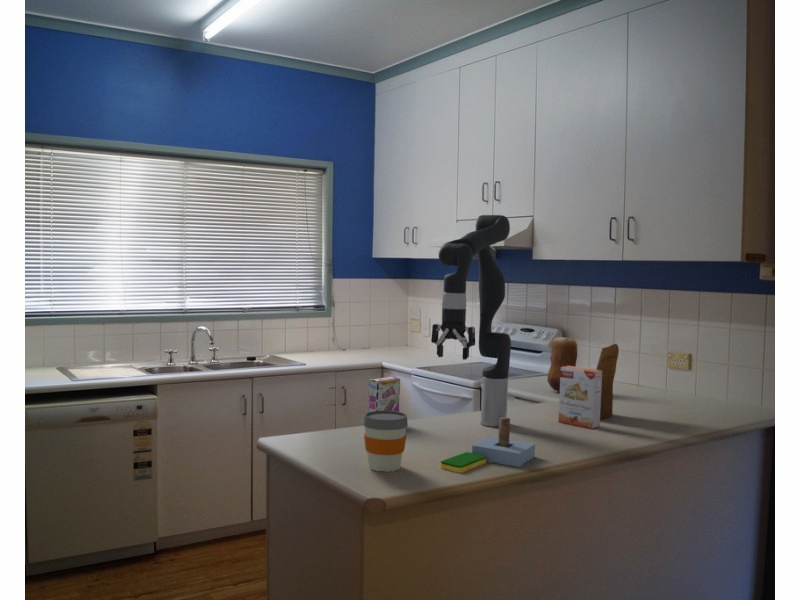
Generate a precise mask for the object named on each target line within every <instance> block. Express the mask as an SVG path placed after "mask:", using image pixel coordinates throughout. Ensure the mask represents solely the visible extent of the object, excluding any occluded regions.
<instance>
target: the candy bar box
mask: <svg viewBox="0 0 800 600" xmlns="http://www.w3.org/2000/svg"><path fill="white" fill-rule="evenodd" d="M400 388H401V378H398V377H394V376H388V377H382V378H381V377H380V378H371V379H368V401H367V402H368V404H367V405H368V406H367V413H368V412H372V411H397V412H400V396H401V395H400V392H401V389H400Z"/></svg>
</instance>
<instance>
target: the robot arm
mask: <svg viewBox="0 0 800 600" xmlns="http://www.w3.org/2000/svg"><path fill="white" fill-rule="evenodd" d="M510 230H511V226H510V221H509V219H508V217H506V216H505V215H501V214H482V215H479V216H478V217H477V219H476V222H475V230H474V231H471V232H468V233H466V234H465V235H463V236H462V237H460V238H459V239H454V240H451V241H446V243H443V244H442V245H441V247H440V249H438V250H439V251H438V259H439V261H440V263H441V264H442V265H444V266H448V267H457V268H456V271H454V272H451V273H447V274H445V275H444V278H443V293H442V294H443V295H442V303H441V305H442V307H441V308H442V309H441V324H439V323H434V324H432V329H431V342H430V343H432V344H435V345H436V355H437V357H438V358H442V357H444V343H445V342H446V340H455V341H457V340H458V341H459V343H460V344H461V345H462V360H467V359H468V358H469V357H470V348H471V347H473V346H475V345H476V328H475V326H466V322H467V321H466V319H467V295H466V293H467V279H468V275H469V270H470V269H471V268H470V267H471V265H472V262H473V257H474V256H475V255H477V259H478V298H479V299H478V300H479V326H478V327H479V328H478V350H479V354H480V355H481V357H484V358H490V359H497V360H496V363H495V364H494V365H491V366H487V367H484V368H482V374H481V375H482V376H481V378H482V379H481V380H482V381H481V403H480V404H481V407H480V424H481V425H483V426H486V427H494V428H495V427H498V428H499V418H501V417H506V418H508V417H507V415H508V414H507V413H508V388H509V371H510V363H511V362H510V361H511V353H512V352H511V349H512V339H511V336H510V334H508V333H504V332H494V331H493V332H492V324H493V319H494V318H495V316H496V314H497V312H498V310H499V309H500V307H501V306H502V304H503V302H504V300H505V298H506V278H505V276H504V273H503V272H502V270H501V268H500V267H499V265H498V263H497V262H496V261H495V258H494V257H493V254H492V252H491V251H492V250H491V248H490V247H491V246H493V245H494V244H497V243H500V242H503V241H505V240H506V239H508V238H509V235H510ZM440 331H441V332H442V333H441V335H440V334H439V333H440ZM465 332H466V334H467V337H468V339H467V337H466V334H465ZM439 335H440V336H439Z"/></svg>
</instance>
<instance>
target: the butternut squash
mask: <svg viewBox="0 0 800 600" xmlns="http://www.w3.org/2000/svg"><path fill="white" fill-rule="evenodd" d="M550 352H551V353H550V354H551V355H550V358H549V361H550V367H549V369H548V373H547V381H546V382H547V383H548V384H549V386H550V387H551V389H553V390H554V391H558V392H559V393H560V375H561V367H564V366H574V367H577V366H576V365H577V361H578V343H577V341H576V340H574V339H572V338H568V337H562V336H561V337H555V338H554V339H553V340H552V342H551V351H550Z"/></svg>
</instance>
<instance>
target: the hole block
mask: <svg viewBox="0 0 800 600" xmlns="http://www.w3.org/2000/svg"><path fill="white" fill-rule="evenodd" d="M498 442H499V437H494V436H488V437H486V438H484V439H482V440H480V441H478V442H476V443H474V444H473V445H472V447H471V453H474V454H478V455H482V456H486V462H487V463H494V464H499V465H506V466H511V467H517V468H520V467H522V466H523V465H525V464H526V463H528V462H529V461H531V460H532V459H534V458H535V455H536V443H532V442H525V441H518V440H513V439H509V448H507V447H501V446H498ZM533 457H534V458H533ZM530 459H531V460H530ZM527 461H528V462H527ZM524 463H525V464H524Z"/></svg>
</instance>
